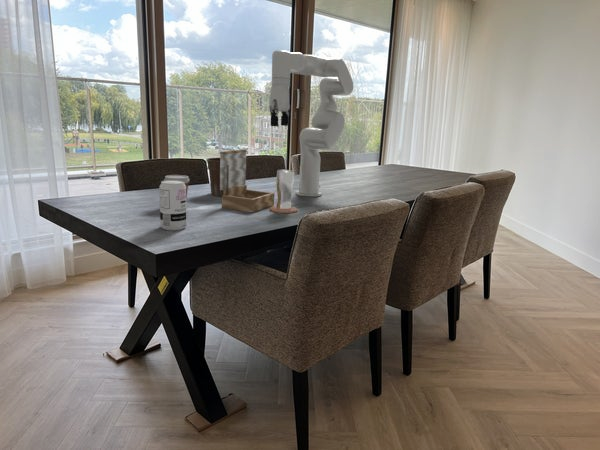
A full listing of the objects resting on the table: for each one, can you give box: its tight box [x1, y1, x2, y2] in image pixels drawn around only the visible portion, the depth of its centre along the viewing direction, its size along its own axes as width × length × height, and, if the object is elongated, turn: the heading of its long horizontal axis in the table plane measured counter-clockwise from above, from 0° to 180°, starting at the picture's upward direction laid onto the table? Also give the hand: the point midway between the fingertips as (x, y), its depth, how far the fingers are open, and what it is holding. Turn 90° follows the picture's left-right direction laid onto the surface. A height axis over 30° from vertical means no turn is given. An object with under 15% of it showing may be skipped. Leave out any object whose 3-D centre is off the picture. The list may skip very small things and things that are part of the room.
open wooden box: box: [219, 148, 275, 213], centre depth 182 cm, size 18×15×22 cm
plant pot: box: [206, 157, 238, 197], centre depth 204 cm, size 16×16×16 cm
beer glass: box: [275, 169, 295, 210], centre depth 178 cm, size 7×7×15 cm
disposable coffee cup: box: [163, 174, 190, 200], centre depth 174 cm, size 10×10×12 cm
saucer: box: [269, 205, 298, 214], centre depth 180 cm, size 11×11×1 cm
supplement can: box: [159, 180, 188, 231], centre depth 144 cm, size 8×8×15 cm
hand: (279, 125), depth 188 cm, fingers open, 9 cm apart
